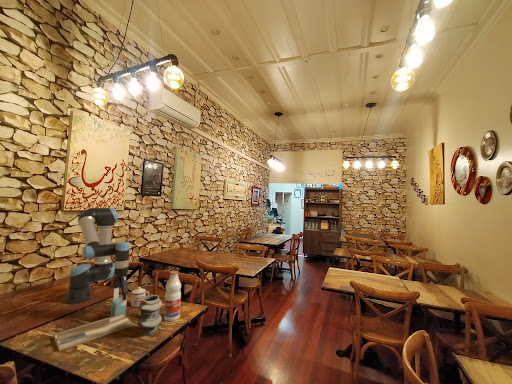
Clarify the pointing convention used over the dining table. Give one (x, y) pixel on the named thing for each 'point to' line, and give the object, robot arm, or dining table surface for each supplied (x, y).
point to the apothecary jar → (149, 315)
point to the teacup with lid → (138, 296)
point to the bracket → (117, 307)
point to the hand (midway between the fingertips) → (119, 301)
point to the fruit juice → (172, 298)
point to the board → (91, 331)
